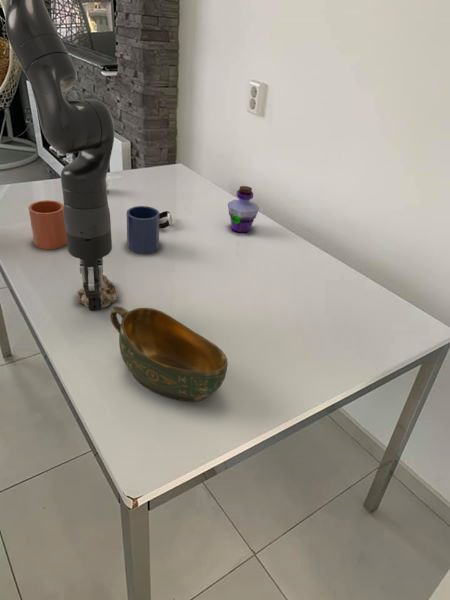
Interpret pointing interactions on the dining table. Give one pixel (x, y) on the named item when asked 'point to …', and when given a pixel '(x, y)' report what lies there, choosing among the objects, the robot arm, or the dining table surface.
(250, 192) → the potion bottle
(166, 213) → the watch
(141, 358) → the painted kuksa bowl
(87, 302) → the mineral rock
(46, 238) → the cup left
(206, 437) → the dining table surface
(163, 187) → the dining table surface
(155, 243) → the cup right
